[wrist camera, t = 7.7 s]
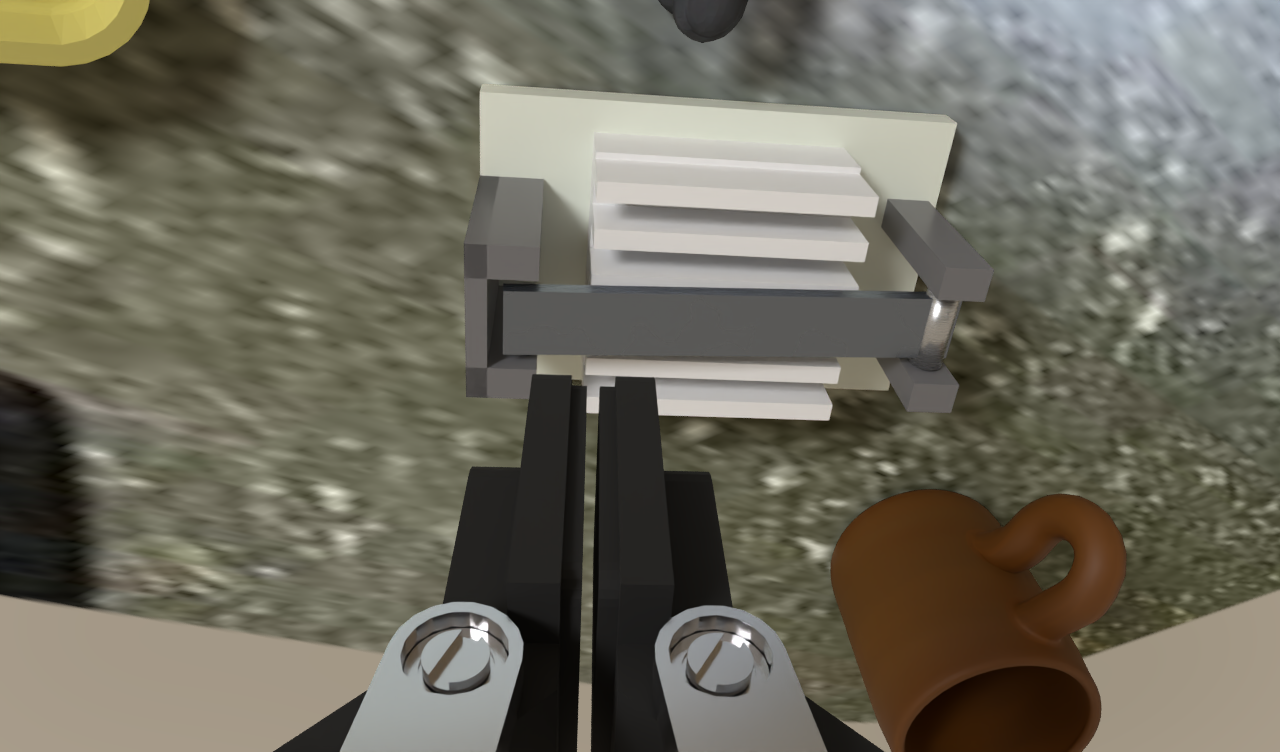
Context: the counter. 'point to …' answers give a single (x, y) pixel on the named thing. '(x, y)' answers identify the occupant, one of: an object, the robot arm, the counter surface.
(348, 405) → the counter surface
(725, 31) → the can opener
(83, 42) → the plastic component
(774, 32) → the counter surface
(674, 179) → the heatsink board
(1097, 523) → the mug
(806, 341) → the grey long flat bar
